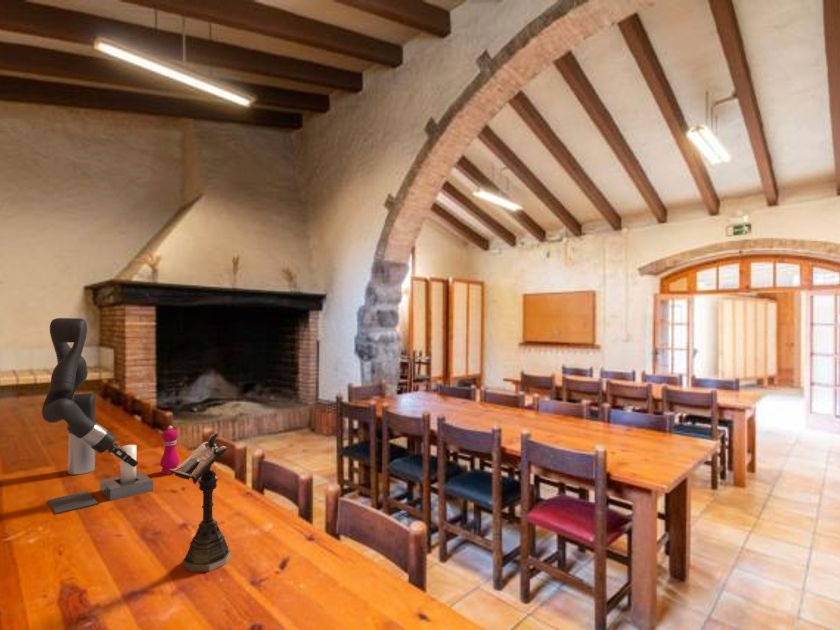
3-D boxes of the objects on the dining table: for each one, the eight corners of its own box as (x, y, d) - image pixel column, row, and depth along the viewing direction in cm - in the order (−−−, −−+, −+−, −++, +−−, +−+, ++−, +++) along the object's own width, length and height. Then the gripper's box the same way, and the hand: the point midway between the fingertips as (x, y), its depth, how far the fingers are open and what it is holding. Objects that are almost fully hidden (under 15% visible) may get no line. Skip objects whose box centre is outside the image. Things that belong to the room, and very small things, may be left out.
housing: (100, 490, 182) (100, 480, 182) (141, 481, 192) (141, 471, 192) (110, 500, 173) (110, 489, 173) (152, 490, 183) (152, 480, 183)
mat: (47, 501, 171) (47, 499, 171) (87, 492, 180) (87, 491, 180) (55, 514, 160) (55, 512, 160) (98, 504, 169) (98, 502, 169)
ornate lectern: (182, 587, 118) (183, 445, 118) (157, 570, 125) (158, 437, 126) (242, 560, 131) (243, 432, 131) (216, 546, 139) (217, 426, 139)
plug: (118, 482, 183) (119, 446, 183) (133, 479, 186) (134, 443, 187) (122, 486, 179) (122, 449, 179) (137, 483, 183) (138, 446, 183)
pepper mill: (171, 475, 199) (171, 428, 200) (156, 474, 201) (156, 427, 201) (183, 470, 207) (183, 424, 207) (168, 469, 208) (168, 423, 208)
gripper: (111, 432, 173) (147, 458, 181) (101, 426, 183) (136, 451, 191) (93, 450, 169) (131, 476, 177) (84, 442, 179) (120, 467, 187)
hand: (133, 463), depth 184 cm, fingers closed on plug, 5 cm apart
